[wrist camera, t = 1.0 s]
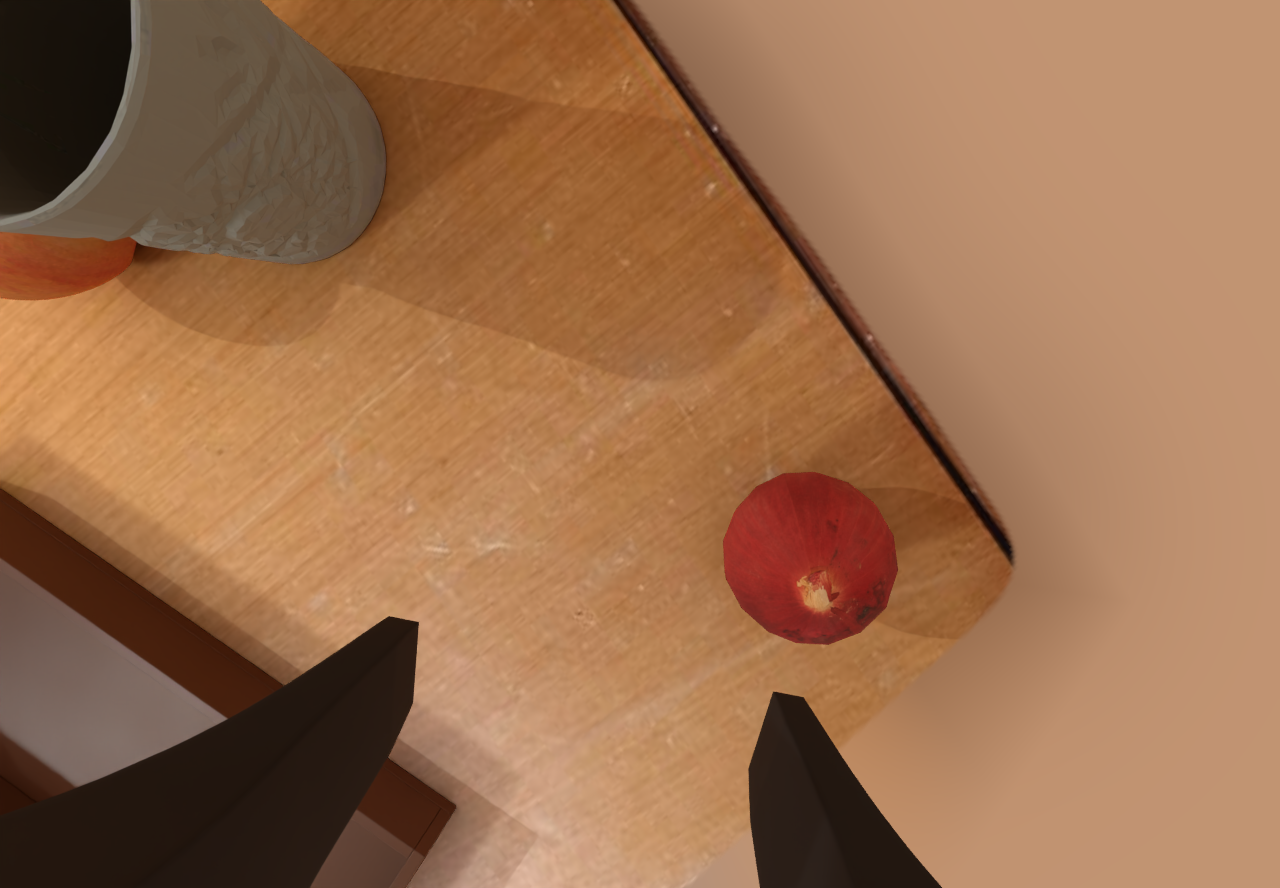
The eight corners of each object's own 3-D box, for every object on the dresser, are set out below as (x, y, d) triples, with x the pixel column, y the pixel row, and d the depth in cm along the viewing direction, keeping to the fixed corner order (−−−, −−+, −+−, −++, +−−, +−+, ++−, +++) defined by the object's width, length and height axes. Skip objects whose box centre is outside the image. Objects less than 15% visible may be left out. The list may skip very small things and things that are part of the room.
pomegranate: (902, 523, 24) (980, 599, 17) (803, 623, 26) (833, 738, 18) (789, 429, 25) (815, 460, 17) (697, 532, 26) (680, 607, 18)
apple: (174, 326, 28) (-42, 312, 20) (39, 286, 29) (-218, 259, 21) (195, 162, 27) (-26, 81, 19) (54, 125, 28) (-214, 33, 20)
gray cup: (197, 30, 26) (-241, -239, 14) (418, 42, 25) (133, -245, 13) (195, 273, 28) (-202, 209, 16) (403, 297, 26) (136, 245, 15)
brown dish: (457, 806, 29) (425, 857, 26) (327, 1007, 32) (284, 1075, 29) (-22, 472, 31) (-104, 484, 28) (-105, 692, 34) (-187, 724, 31)
